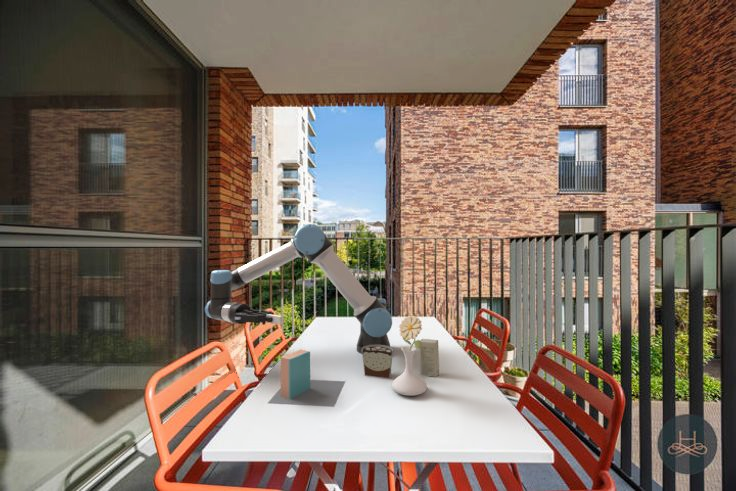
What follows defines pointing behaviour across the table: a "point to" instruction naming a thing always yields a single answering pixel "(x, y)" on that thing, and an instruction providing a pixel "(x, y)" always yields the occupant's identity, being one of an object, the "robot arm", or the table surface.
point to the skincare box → (429, 357)
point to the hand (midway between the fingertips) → (281, 320)
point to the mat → (313, 394)
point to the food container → (377, 360)
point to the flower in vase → (409, 360)
